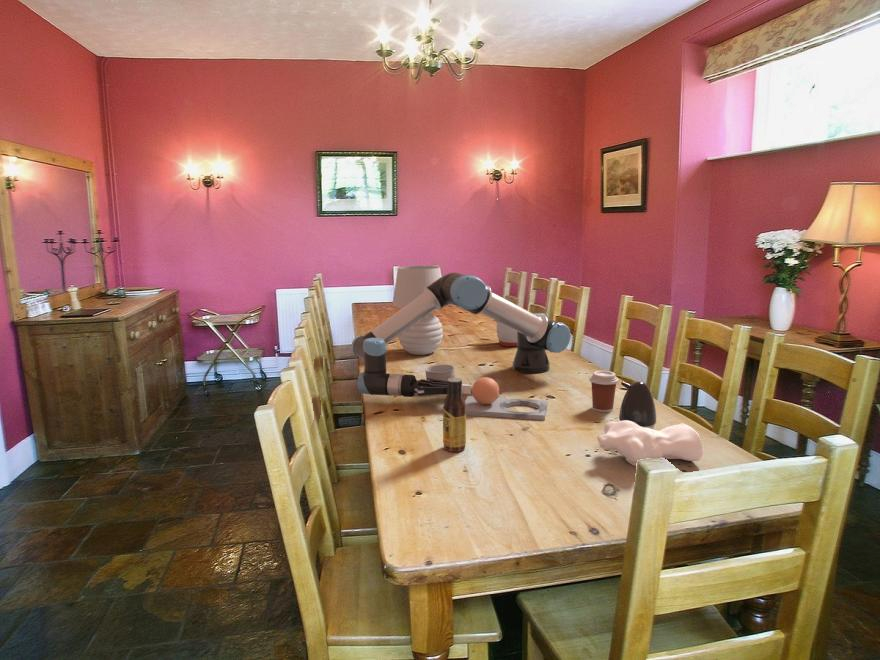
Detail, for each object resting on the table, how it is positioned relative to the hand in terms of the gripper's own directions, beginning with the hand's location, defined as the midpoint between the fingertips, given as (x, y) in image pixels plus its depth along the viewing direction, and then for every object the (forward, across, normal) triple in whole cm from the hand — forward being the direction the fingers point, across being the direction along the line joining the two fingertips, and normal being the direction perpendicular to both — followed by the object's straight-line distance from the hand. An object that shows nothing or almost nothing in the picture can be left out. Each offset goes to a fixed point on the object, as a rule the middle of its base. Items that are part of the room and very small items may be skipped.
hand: (471, 389), depth 188 cm
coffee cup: (+42, -8, -7) cm, 43 cm away
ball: (+5, 0, 0) cm, 5 cm away
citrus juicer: (+1, -98, -7) cm, 98 cm away
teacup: (-15, -21, -7) cm, 27 cm away
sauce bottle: (+2, +35, -7) cm, 35 cm away
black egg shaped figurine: (+51, +12, -7) cm, 53 cm away
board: (+11, 0, -6) cm, 12 cm away
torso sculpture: (+52, +32, -7) cm, 61 cm away
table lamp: (-38, -74, -7) cm, 83 cm away
